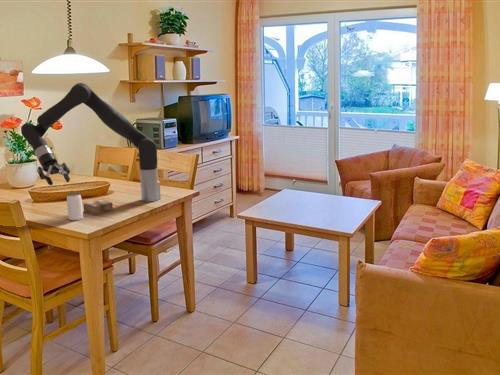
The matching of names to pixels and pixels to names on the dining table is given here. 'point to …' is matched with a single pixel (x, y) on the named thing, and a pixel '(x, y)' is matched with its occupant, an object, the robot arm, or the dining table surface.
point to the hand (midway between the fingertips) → (60, 182)
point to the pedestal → (98, 207)
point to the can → (74, 206)
